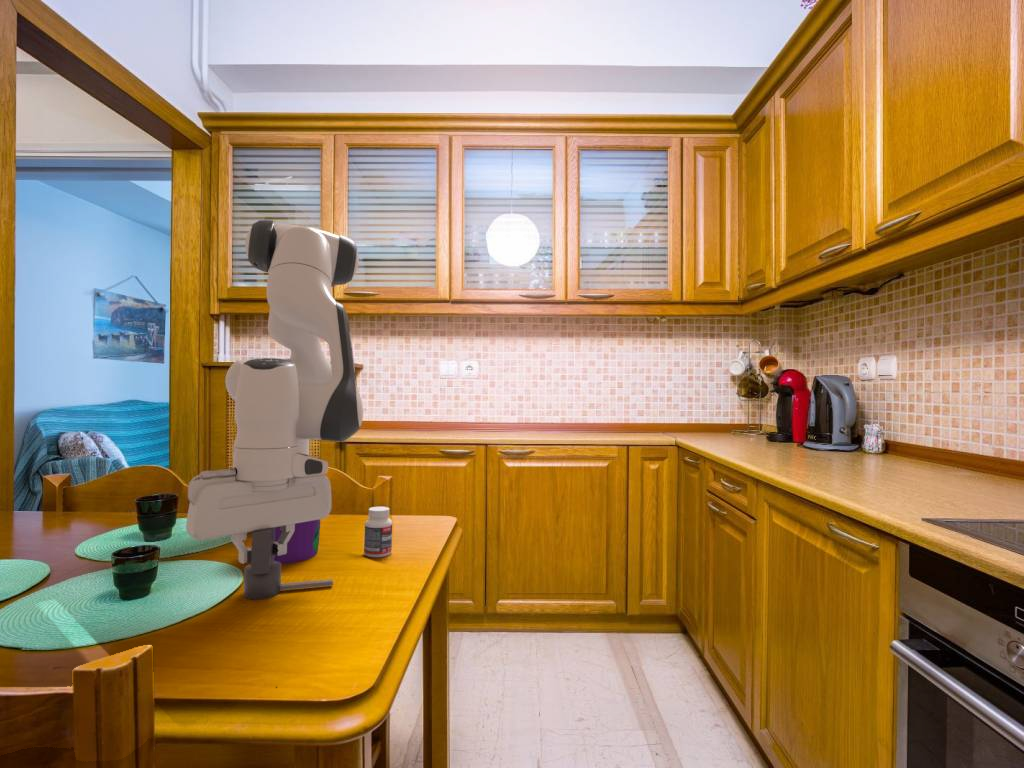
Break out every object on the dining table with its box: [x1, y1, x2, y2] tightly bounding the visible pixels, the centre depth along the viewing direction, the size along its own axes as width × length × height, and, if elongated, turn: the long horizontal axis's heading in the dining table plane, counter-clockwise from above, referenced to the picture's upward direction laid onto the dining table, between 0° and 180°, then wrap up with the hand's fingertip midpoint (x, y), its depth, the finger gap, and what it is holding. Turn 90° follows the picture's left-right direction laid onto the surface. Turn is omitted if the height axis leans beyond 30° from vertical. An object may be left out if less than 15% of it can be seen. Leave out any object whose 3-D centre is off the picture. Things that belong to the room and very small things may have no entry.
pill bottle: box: [363, 506, 393, 559], centre depth 103 cm, size 5×5×9 cm
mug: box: [274, 519, 321, 565], centre depth 99 cm, size 17×11×10 cm, turn 12°
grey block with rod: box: [243, 527, 334, 600], centre depth 80 cm, size 12×7×10 cm, turn 109°
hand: (263, 558), depth 78 cm, fingers closed on grey block with rod, 3 cm apart
